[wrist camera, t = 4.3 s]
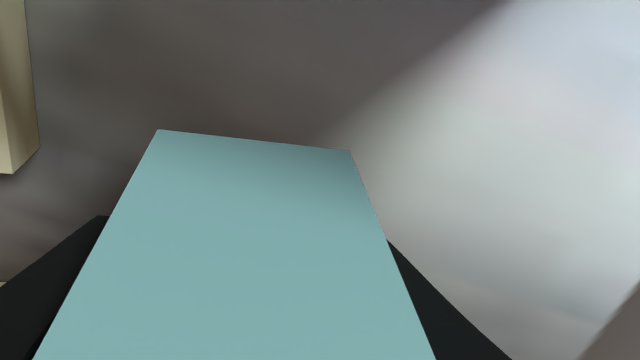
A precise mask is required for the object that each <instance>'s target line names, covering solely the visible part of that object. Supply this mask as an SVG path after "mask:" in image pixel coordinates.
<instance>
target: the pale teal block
mask: <svg viewBox="0 0 640 360" xmlns="http://www.w3.org/2000/svg"><path fill="white" fill-rule="evenodd" d="M32 360H436V359H435V356H434V354H433V351H432V349H431V347H430V344H429V342H428V339H427V337H426V335H425V332H424V330H423V327H422V325H421V322H420V320H419V318H418V315H417V313H416V310H415V308H414V306H413V303H412V301H411V298H410V296H409V294H408V291H407V289H406V286H405V284H404V282H403V279H402V277H401V274H400V272H399V269H398V267H397V265H396V262H395V260H394V257H393V255H392V253H391V250H390V248H389V245H388V243H387V241H386V238H385V236H384V233H383V231H382V228H381V226H380V224H379V221H378V219H377V216H376V214H375V212H374V209H373V207H372V204H371V202H370V200H369V197H368V195H367V192H366V190H365V187H364V185H363V183H362V180H361V178H360V175H359V173H358V171H357V168H356V166H355V163H354V161H353V159H352V156H351V154H350V151H347V150H338V149H329V148H321V147H312V146H303V145H294V144H285V143H276V142H267V141H258V140H250V139H241V138H232V137H223V136H214V135H205V134H196V133H187V132H178V131H170V130H161V129H158V130H157V131H156V133H155V135H154V137H153V139H152V141H151V142H150V144H149V146H148V148H147V150H146V152H145V153H144V155H143V157H142V159H141V161H140V163H139V164H138V166H137V168H136V170H135V172H134V174H133V176H132V177H131V179H130V181H129V183H128V185H127V187H126V188H125V190H124V192H123V194H122V196H121V198H120V199H119V201H118V203H117V205H116V207H115V209H114V210H113V212H112V214H111V216H110V218H109V220H108V221H107V223H106V225H105V227H104V229H103V231H102V233H101V234H100V236H99V238H98V240H97V242H96V244H95V245H94V247H93V249H92V251H91V253H90V255H89V256H88V258H87V260H86V262H85V264H84V266H83V267H82V269H81V271H80V273H79V275H78V277H77V279H76V280H75V282H74V284H73V286H72V288H71V290H70V291H69V293H68V295H67V297H66V299H65V301H64V302H63V304H62V306H61V308H60V310H59V312H58V313H57V315H56V317H55V319H54V321H53V323H52V325H51V326H50V328H49V330H48V332H47V334H46V336H45V337H44V339H43V341H42V343H41V345H40V347H39V348H38V350H37V352H36V354H35V356H34V358H33V359H32Z"/></svg>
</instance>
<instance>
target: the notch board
mask: <svg viewBox="0 0 640 360" xmlns="http://www.w3.org/2000/svg"><path fill="white" fill-rule="evenodd" d="M39 148H40V143H39V134H38V125H37V116H36V107H35V98H34V89H33V80H32V71H31V62H30V53H29V44H28V35H27V26H26V17H25V8H24V0H0V173H7V174H13V173H14V172H15V171H16V170H17V169H18V168H19V167H20V166H21V165H23V164H24V163H25V162H26V161H27V160H28V159H29V158H30V157H31V156H32V155H33V154H34V153H35V152H36V151H37V150H38V149H39ZM5 283H6V282H0V287H1V286H2V285H3V284H5Z"/></svg>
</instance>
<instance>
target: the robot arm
mask: <svg viewBox="0 0 640 360" xmlns="http://www.w3.org/2000/svg"><path fill="white" fill-rule="evenodd" d="M109 218H110V216H100V215H97V216H96V217H95V218H93V219H92V220H90V221H89V222H88V223H86V224H85V225H83V226H82V227H81V228H79V229H78V230H77V231H75V232H74V233H73V234H71V235H70V236H69V237H67V238H66V239H65V240H63V241H62V242H61V243H59V244H58V245H57V246H56V247H54V248H53V249H52V250H50V251H49V252H47V253H46V254H45V255H43V256H42V257H41V258H39V259H38V260H37V261H35V262H34V263H33V264H31V265H30V266H28V267H27V268H26V269H24V270H23V271H22V272H20V273H19V274H17V275H16V276H15V277H13V278H12V279H10V280H9V281H8V282H6V283H5V284H3V285H2V286H1V287H0V360H32V359H33V358H34V356H35V354H36V352H37V350H38V348H39V347H40V345H41V343H42V341H43V339H44V337H45V336H46V334H47V332H48V330H49V328H50V326H51V325H52V323H53V321H54V319H55V317H56V315H57V313H58V312H59V310H60V308H61V306H62V304H63V302H64V301H65V299H66V297H67V295H68V293H69V291H70V290H71V288H72V286H73V284H74V282H75V280H76V279H77V277H78V275H79V273H80V271H81V269H82V267H83V266H84V264H85V262H86V260H87V258H88V256H89V255H90V253H91V251H92V249H93V247H94V245H95V244H96V242H97V240H98V238H99V236H100V234H101V233H102V231H103V229H104V227H105V225H106V223H107V221H108V220H109ZM386 241H387V243H388V245H389V248H390V250H391V253H392V255H393V257H394V260H395V262H396V265H397V267H398V269H399V272H400V274H401V277H402V279H403V282H404V284H405V286H406V289H407V291H408V294H409V296H410V298H411V301H412V303H413V306H414V308H415V310H416V313H417V315H418V318H419V320H420V322H421V325H422V327H423V330H424V332H425V335H426V337H427V339H428V342H429V344H430V347H431V349H432V351H433V354H434V356H435V359H436V360H512V359H511V358H509V357H508V356H507V355H506V354H505V353H504V352H503V351H502V350H500V349H499V348H498V347H497V346H496V345H495V344H494V343H492V342H491V341H490V340H489V339H488V338H487V337H486V336H485V335H483V334H482V333H481V332H480V331H479V330H478V329H477V328H476V327H475V326H474V325H473V324H471V323H470V322H469V321H468V320H467V319H466V318H465V317H464V316H463V315H462V314H461V313H460V312H459V311H458V310H457V309H456V308H455V307H454V306H453V305H452V304H451V303H450V302H449V301H448V300H446V299H445V298H444V297H443V296H442V295H441V294H440V293H439V292H438V291H437V290H436V289H435V288H434V287H433V286H432V284H431V283H430V282H429V281H428V280H427V279H426V278H425V277H424V276H423V275H422V274H421V273H420V272H419V271H418V270H417V269H416V268H415V267H414V266H413V265H412V264H411V263H410V262H409V261H408V260H407V259H406V258H405V257H404V256H403V255H402V254H401V253H400V252H399V251H398V250H397V249H396V248H395V247H394V246H393V245H392V244H391V243H390V242H389V241H388V240H387V239H386Z"/></svg>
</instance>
